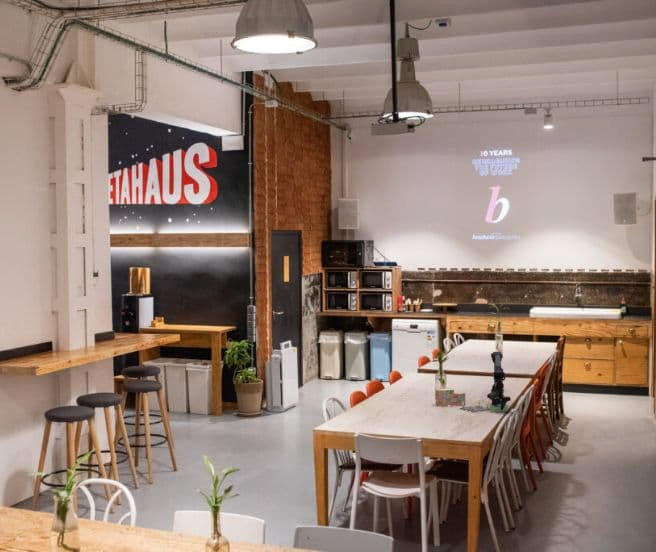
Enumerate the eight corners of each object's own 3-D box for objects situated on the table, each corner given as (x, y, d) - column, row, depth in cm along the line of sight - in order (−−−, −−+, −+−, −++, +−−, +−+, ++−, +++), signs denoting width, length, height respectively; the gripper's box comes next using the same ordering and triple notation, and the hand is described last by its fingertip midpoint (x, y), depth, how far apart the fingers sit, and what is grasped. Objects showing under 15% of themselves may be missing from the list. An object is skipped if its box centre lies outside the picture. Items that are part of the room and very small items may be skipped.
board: (502, 409, 582) (502, 403, 582) (507, 411, 577) (507, 404, 576) (489, 411, 576) (489, 405, 576) (495, 412, 571) (495, 406, 571)
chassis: (477, 406, 591) (477, 399, 591) (490, 410, 579) (490, 402, 579) (459, 409, 582) (459, 401, 582) (472, 412, 570) (472, 404, 570)
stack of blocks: (462, 404, 603) (462, 387, 603) (465, 405, 597) (465, 389, 596) (435, 405, 598) (435, 388, 598) (438, 406, 592) (438, 390, 592)
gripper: (481, 386, 580) (481, 408, 580) (499, 390, 564) (499, 412, 564) (492, 385, 585) (492, 406, 586) (511, 389, 569) (511, 411, 570)
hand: (498, 409), depth 576 cm, fingers open, 7 cm apart
